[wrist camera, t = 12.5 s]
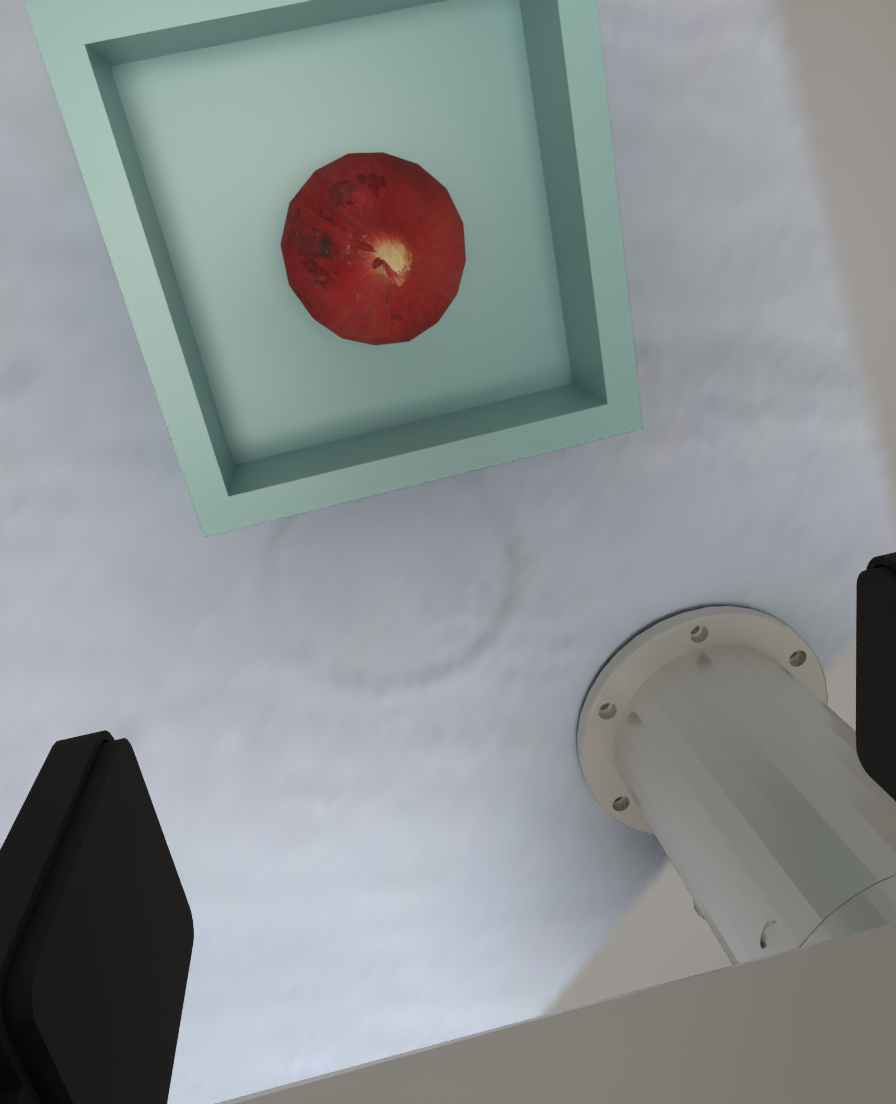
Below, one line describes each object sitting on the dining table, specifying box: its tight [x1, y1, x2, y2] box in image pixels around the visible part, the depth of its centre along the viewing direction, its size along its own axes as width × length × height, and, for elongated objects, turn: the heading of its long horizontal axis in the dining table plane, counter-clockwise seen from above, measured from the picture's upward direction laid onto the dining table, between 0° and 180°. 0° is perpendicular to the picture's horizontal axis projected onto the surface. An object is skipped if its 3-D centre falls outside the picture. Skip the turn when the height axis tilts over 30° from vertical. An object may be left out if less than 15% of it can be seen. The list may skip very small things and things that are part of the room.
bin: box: [24, 0, 643, 537], centre depth 29 cm, size 16×16×5 cm
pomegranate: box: [280, 152, 466, 345], centre depth 27 cm, size 6×6×8 cm
